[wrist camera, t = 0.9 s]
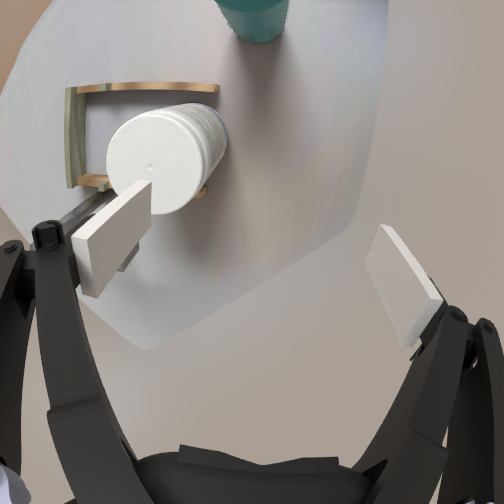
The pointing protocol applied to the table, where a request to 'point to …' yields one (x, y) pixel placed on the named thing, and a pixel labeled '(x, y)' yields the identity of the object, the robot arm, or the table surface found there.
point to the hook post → (86, 210)
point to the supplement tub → (167, 153)
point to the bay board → (76, 127)
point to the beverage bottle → (255, 18)
